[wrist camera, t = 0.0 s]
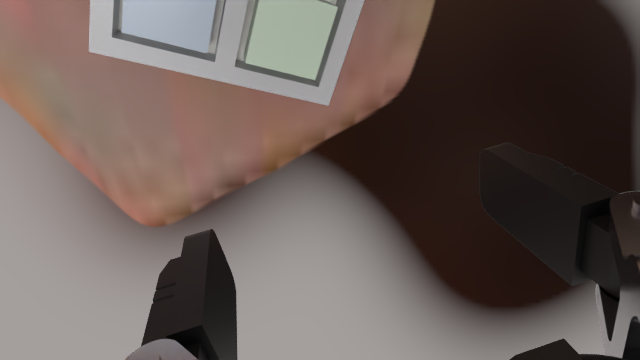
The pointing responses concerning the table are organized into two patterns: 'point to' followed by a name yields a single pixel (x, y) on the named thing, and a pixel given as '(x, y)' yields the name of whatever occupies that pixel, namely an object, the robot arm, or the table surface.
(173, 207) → the table surface
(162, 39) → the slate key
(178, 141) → the table surface
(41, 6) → the table surface
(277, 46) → the sage key
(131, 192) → the table surface
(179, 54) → the keypad
